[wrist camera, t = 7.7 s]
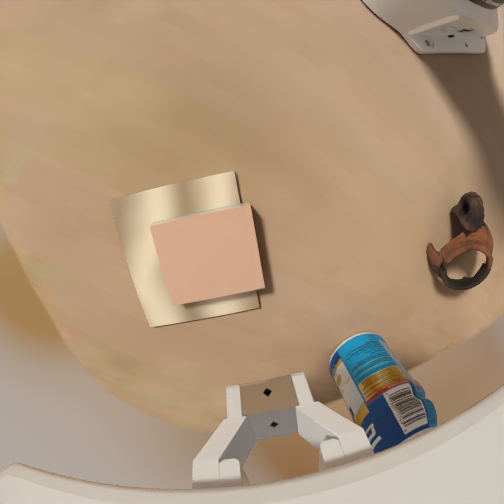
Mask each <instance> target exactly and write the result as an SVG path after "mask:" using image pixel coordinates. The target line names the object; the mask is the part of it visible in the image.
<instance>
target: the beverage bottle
mask: <svg viewBox="0 0 504 504" xmlns="http://www.w3.org/2000/svg"><path fill="white" fill-rule="evenodd" d="M329 370H330V373H331V375H332V377H333V379H334V380H335V383H336V385H337V387H338V389H339V391H340V393H341V395H342V397H343V399H344V402H345V403H346V406H347V408H348V410H349V412H350V414H351V416H352V418H353V421H354V423H355V424H356V425H358V426H360V427H362V428H363V429H364V431H365V434H366V436H367V438H368V440H369V443H370V445H371V447H372V449H373V452H374V454H376V453H379V452H381V451H384V450H386V449H389V448H391V447H394V446H396V445H398V444H401V443H403V442H405V441H408V440H410V439H412V438H414V437H416V436H418V435H420V434H422V433H425V432H427V431H429V430H431V429H432V428H434V427H436V426H437V416H436V410H435V407H434V405H433V403H432V402H431V401H430V400H428V399H425V392H424V390H423V388H422V387H421V385H420V384H419V383H418V382H417V381H415V380H413V378H412V377H411V376H410V375H409V373H408V372H407V371H406V369H405V368H404V367H403V365H402V364H401V363H400V362H399V360H398V359H397V358H396V357H395V355H394V354H393V353H392V351H391V350H390V349H389V347H388V346H387V344H386V342H385V341H384V340H383V339H382V337H381V336H379V335H378V334H375V333H372V332H363V333H359V334H356V335H353V336H351V337H349V338H348V339H346V340H345V341H343V342H342V343H341V344H340V345H339V346H338V347H337V348H336V349H335V351H334V352H333V354H332V356H331V358H330V361H329Z"/></svg>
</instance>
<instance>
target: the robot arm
mask: <svg viewBox="0 0 504 504" xmlns="http://www.w3.org/2000/svg"><path fill="white" fill-rule="evenodd" d="M362 1H363V2H364V3H365V4H366V5H367V6H368V7H369V8H370V9H371V10H372V11H373V12H374V13H375V14H376V15H377V16H379V17H380V18H381V19H382V20H384V21H385V22H386V23H388V24H389V25H390V26H392V27H393V28H395V29H396V30H397V31H398V32H399V33H401V35H402V36H403V37H404V39H405V40H406V41H407V42H408V44H409V45H410V46H411V47H412V48H413V49H414V50H415V51H416V52H417V53H419V54H436V53H469V54H481V53H484V52H485V48H486V40H485V36H487V35H490V34H493V33H495V32H497V30H498V13H497V8H498V7H499V6H501V5H503V3H504V0H362ZM425 42H426V43H425ZM426 44H427V45H426ZM226 397H227V416H228V419H224V420H223V421H222V423H221V424H220V425H219V427H218V428H217V429H216V431H215V432H214V434H213V435H212V436H211V438H210V439H209V440H208V442H207V443H206V445H205V446H204V447H203V448H202V450H201V451H200V453H199V454H198V455H197V456H196V458H195V459H194V460H193V484H192V485H193V487H192V489H154V488H139V487H127V486H118V485H111V484H103V483H97V482H92V481H85V480H81V479H76V478H71V477H66V476H63V475H58V474H54V473H51V472H47V471H44V470H40V469H37V468H34V467H31V466H27V465H25V464H21V463H13V464H11V465H9V466H8V467H6V468H5V469H4V470H2V471H1V472H0V504H504V384H503V385H502V386H501V387H499V388H498V389H496V390H495V391H494V392H492V393H491V394H489V395H488V396H486V397H485V398H484V399H482V400H481V401H479V402H478V403H476V404H474V405H473V406H471V407H470V408H468V409H466V410H465V411H463V412H461V413H460V414H458V415H457V416H455V417H453V418H451V419H449V420H447V421H446V422H444V423H442V424H440V425H438V426H436V427H434V428H432V429H431V430H429V431H427V432H425V433H422V434H420V435H418V436H416V437H414V438H412V439H410V440H408V441H405V442H403V443H401V444H398V445H396V446H394V447H391V448H389V449H386V450H384V451H381V452H379V453H376V454H374V452H373V449H372V447H371V445H370V443H369V440H368V438H367V436H366V434H365V431H364V429H363V428H362V427H360V426H358V425H356V424H355V423H353V422H351V421H350V420H348V419H346V418H345V417H343V416H341V415H340V414H338V413H336V412H335V411H333V410H332V409H330V408H328V407H327V406H325V405H324V404H322V403H320V402H319V401H316V402H314V399H313V397H312V394H311V391H310V388H309V385H308V382H307V379H306V377H305V374H304V372H300V373H295V374H291V375H286V376H282V377H277V378H273V379H268V380H264V381H258V382H252V383H245V384H240V385H232V386H227V388H226ZM292 433H299V434H300V435H301V436H302V437H304V438H305V439H306V440H307V441H308V442H309V443H311V444H312V445H313V446H314V447H315V448H317V449H318V450H319V451H320V460H319V462H320V463H319V472H315V473H311V474H307V475H302V476H298V477H293V478H288V479H283V480H278V481H272V482H266V483H259V484H253V485H251V483H250V481H249V479H248V477H247V475H246V473H245V472H244V470H243V465H244V463H245V461H246V459H247V457H248V455H249V453H250V451H251V450H252V448H253V446H254V444H255V441H256V440H261V439H267V438H271V437H276V435H277V436H282V435H287V434H292Z"/></svg>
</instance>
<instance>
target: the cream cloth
mask: <svg viewBox="0 0 504 504" xmlns="http://www.w3.org/2000/svg"><path fill="white" fill-rule="evenodd" d="M236 204H240V199H239V194H238V188H237V183H236V177H235V172H234V171H232V172H227V173H222V174H217V175H212V176H207V177H202V178H197V179H193V180H188V181H184V182H179V183H175V184H171V185H167V186H162V187H158V188H154V189H150V190H146V191H142V192H139V193H135V194H131V195H127V196H124V197H120V198H116V199H113V200H110V205H111V209H112V212H113V216H114V220H115V224H116V227H117V231H118V234H119V238H120V241H121V244H122V248H123V251H124V254H125V257H126V261H127V264H128V267H129V270H130V273H131V276H132V279H133V282H134V285H135V287H136V290H137V293H138V296H139V299H140V301H141V304H142V307H143V309H144V312H145V315H146V317H147V320H148V322H149V325H150V327H156V326H162V325H168V324H174V323H181V322H186V321H192V320H198V319H204V318H209V317H215V316H220V315H225V314H230V313H236V312H241V311H246V310H251V309H256V308H260V307H259V302H258V297H257V291H256V290H252V291H247V292H242V293H237V294H232V295H227V296H222V297H217V298H212V299H207V300H201V301H196V302H191V303H185V304H180V305H174V306H173V304H172V301H171V297H170V294H169V291H168V288H167V285H166V282H165V279H164V275H163V272H162V269H161V265H160V262H159V259H158V255H157V252H156V248H155V245H154V241H153V237H152V234H151V230H150V226H151V224H152V223H153V222H157V221H161V220H165V219H170V218H174V217H179V216H183V215H188V214H192V213H197V212H202V211H206V210H211V209H216V208H221V207H226V206H231V205H236Z"/></svg>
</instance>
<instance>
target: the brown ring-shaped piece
mask: <svg viewBox="0 0 504 504" xmlns="http://www.w3.org/2000/svg"><path fill="white" fill-rule="evenodd" d="M451 211H452V212H453V213H454V214H455V215H456V216H457V217H458V219H459V221H460V224H461V225H462V226H463V228H464V229H465V230H466V231H468V232H471V234H470V235H468V236H466V235H465V234H464V232H463V233H461V234H460V235H458V236H457V237H455V238H454V239H452V240H451V241H450V242H449V243H448V244H446V245H445V246H444V247H443V248H442V249H441V250H440V251H439V252H437V251H436V250H435V249H434V247H433V245H432V243H428V246H427V254H428V258H429V259H430V265H431V267H432V269H433V270H434V272H435V273H436V274H437V275H438V276H439V277H440V278H441V279H442V281H443V283H444V284H445V285H446V286H448V287H449V288H452V289H454V290H467V289H470V288H472V287H475V286H477V285H478V284H480V283H481V282H482V281H483V280H484V279H485V278H486V277H487V276H488V274H489V272H490V270H491V267H492V263H493V258H492V251H493V239H492V236H491V233H490V230H489V228H488V226H487V225H486V223H485V222H484V221H483V220H484V207H483V201H482V199H481V197H480V196H479V195H478V194H477V193H475V192H469V193H465V194H464V195H463V196H462V197H461V199H460V201H459V203H458V204H457V205H456V206H454V207H453V208H452V209H451ZM470 250H478V251H481V252H483V253H484V254H485V255H486V263H483V264H482V266H481V267H480V269H479V270H478V272H477V273H476V274H475V276H474V277H472V278H467V277H463V278H462V279H458V280H457V279H450V278H449V277H448V276H447V269H446V268H445V267H444V266H443V263H444V262H445V263H448V264H449V263H451V261H453V259H454V258H456V257H457V256H458V255H460V254H461V253H464V252H466V251H470Z"/></svg>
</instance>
